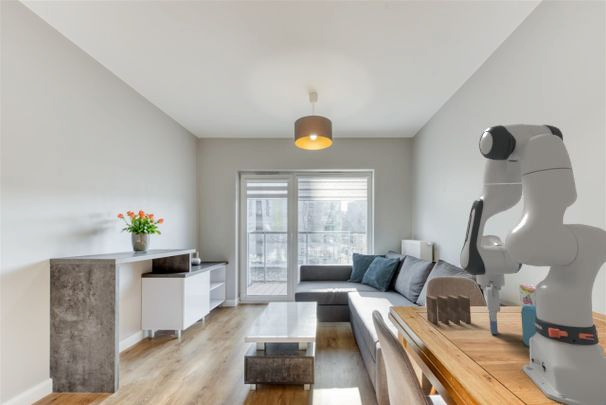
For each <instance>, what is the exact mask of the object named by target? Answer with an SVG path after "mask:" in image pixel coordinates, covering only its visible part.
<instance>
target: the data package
mask: <svg viewBox="0 0 606 405" xmlns="http://www.w3.org/2000/svg"><path fill="white" fill-rule="evenodd" d="M520 313H521V314H520V315H521V328H522V331H521V332H522V341H523V344H524V345H526V346H527V347H529V348H530V343H529V339H530V338H531V337H533V336H534V335H535V334H536V332H537V331H536V330H535V316H537V314H536V307H533V306H524V307H523V308H522V310H521V312H520Z"/></svg>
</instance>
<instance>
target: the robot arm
mask: <svg viewBox="0 0 606 405" xmlns="http://www.w3.org/2000/svg"><path fill="white" fill-rule="evenodd" d="M478 148H479V151H480V153H481V155H482V157H484V158H485V159H486V162H485V164H484V172H483V182H482V183H483V186H482V191H481V194H480V195H479V197H478V198H477V199H476V200H474V201H473V203H472V206H471V209H470V212H469V218H468V222H467V227H466V232H465V239H464V242H463V245H462V246H463V247H462V250H461V252H460V255H459V256H460V257H459V259H460V260H459V261H460V265H461V268H462V269H463V270H464V271H465V272H466V273H468V274H470V275H471V276H476V277H475V278H476V284H477V285H479V286H480V289H481V290H482V292H483V297H484V301H485V304H486V307H487V310H488V312H489V311H490V318H491V321H495V322H496V321H497V322H498V318H497V317H498V316H497V315H498V312H501V301H500V300H501V298H500V291H501V290H502V287H505V286H506V282H505V275H512V274H517V273H518V272H519V271H520V270H521V269H522V267H523V265H527V266H532V267H538V268H539V267H549V271H548V272H547V275H546V277H545V278H543V279H542V280H541V281H540V282H538V283H537V284H536V285H535V286H536V288H535V301H536V314H537V316H535V330H536V331H537V332H536V334H535V335H534V336H533V337H531V338H530V339H529V343H530V347H529V364H528V363H527V364H524V365H522V370H523V372H524V373H525V374H526V375H527V376H528V378H529V379H531V381H532V382H534V384H535V386H537V387H538V388H539V389H540V391H542V393H543V394H544V395H545V396H546V397H547V398H549V399H551V400H554V401H556V402H558V403H562V404H565V405H606V355H605V350H604V347H603V346H601V345H600V344H599V341H600V340H599V337H598V336H599V333H598V330H597V326H596V324H594V317H593V299H592V295H593V288H594V284H595V281H596V278H597V276H598V273H599V271H600V269H601V268H602V267H603V265H604V264H605V263H606V230H605V229H603V228H601V227H599V226H597V227H596V226H593V225H589V224H582V223H564V217H565V212H566V210H567V209H568V208H569V207H570V206H572V205H574V203H575V202H576V201H577V199H578V192H577V187H576V183H575V177H574V171H573V166H572V162H571V158H570V155H569V152H568V150H567V147H566V145H565V143H564V134H563V133H562V130H561V129H560V128H558V127H556V126H553V125H551V124H550V125H549V124H540V125H539V124H525V123H516V124H506V125H502V124H501V125H500V124H499V125H494V126H491V127H488V128H486V129H485V130H484V131H483V132H482V134H481V135H480V139H479V142H478ZM522 195H523V208H522V212H521V215H520V218H519V220H518V222H517V223H516V224H515V225H514V227H513V228H511V229H510V230H509V231H508V233H507V234H506V236H505V240H504V242H503V241H502V240H501V238H500V236H497V235H494V234H493V235H489V234H488V235H484V231H485V226H486V222H487V221H488V220H489V219H490V218H491V217H493V216H495V215H498V214H500V213H503V212H505V211H508V210H510V209H512V208H513V207H515V206H516V205H517V204H518V203H519V202H520V201H521V199H522Z"/></svg>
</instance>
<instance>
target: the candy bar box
mask: <svg viewBox="0 0 606 405" xmlns="http://www.w3.org/2000/svg"><path fill="white" fill-rule="evenodd" d="M536 286H537V285H534V284H519V295H520V296H519V297H520V308H521V309H520V310H521V311H522V308H523V307H524V306H533V307H536V301H535V288H536Z"/></svg>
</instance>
